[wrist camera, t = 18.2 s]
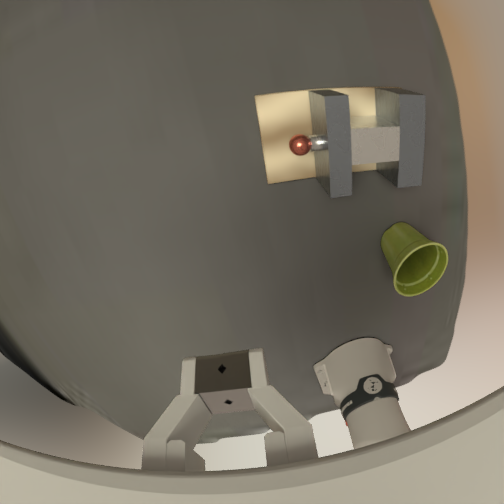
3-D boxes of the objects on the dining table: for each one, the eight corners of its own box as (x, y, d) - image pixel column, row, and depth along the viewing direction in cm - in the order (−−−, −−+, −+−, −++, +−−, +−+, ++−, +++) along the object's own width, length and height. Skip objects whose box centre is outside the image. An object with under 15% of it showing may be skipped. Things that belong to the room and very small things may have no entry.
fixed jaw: (398, 167, 37) (421, 185, 32) (376, 169, 37) (397, 187, 32) (398, 88, 30) (425, 95, 25) (374, 87, 30) (399, 94, 25)
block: (376, 145, 35) (399, 160, 30) (332, 149, 35) (350, 165, 30) (375, 115, 32) (399, 126, 28) (330, 117, 32) (349, 129, 28)
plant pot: (377, 212, 42) (404, 245, 35) (426, 211, 42) (456, 242, 35) (365, 263, 47) (386, 300, 40) (412, 259, 48) (436, 292, 41)
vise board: (397, 164, 37) (401, 167, 37) (267, 180, 38) (268, 183, 37) (397, 87, 31) (401, 88, 30) (254, 95, 31) (255, 96, 31)
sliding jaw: (334, 175, 37) (352, 195, 32) (288, 181, 37) (299, 203, 32) (329, 89, 30) (348, 95, 25) (277, 93, 30) (288, 99, 25)
